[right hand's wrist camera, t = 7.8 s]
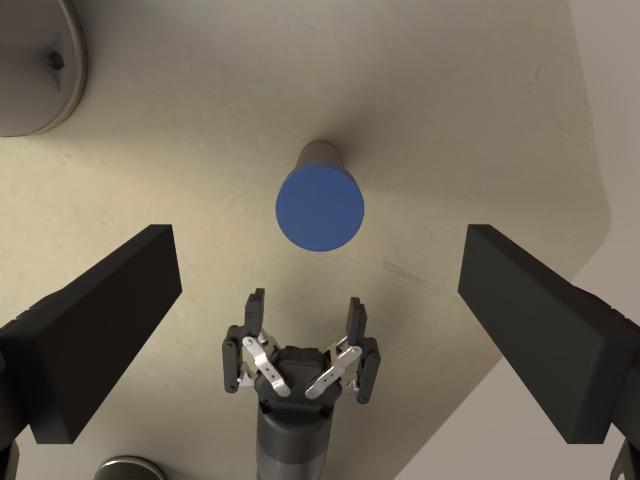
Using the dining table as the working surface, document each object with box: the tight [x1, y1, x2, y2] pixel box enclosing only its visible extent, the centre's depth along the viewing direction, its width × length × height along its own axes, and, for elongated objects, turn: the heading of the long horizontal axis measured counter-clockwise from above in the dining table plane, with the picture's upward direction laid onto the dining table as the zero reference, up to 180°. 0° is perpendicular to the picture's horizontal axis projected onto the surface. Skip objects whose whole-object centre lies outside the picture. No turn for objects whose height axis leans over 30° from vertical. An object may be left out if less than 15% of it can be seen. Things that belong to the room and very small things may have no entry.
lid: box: [276, 160, 364, 252], centre depth 20 cm, size 5×5×2 cm
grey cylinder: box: [295, 141, 344, 168], centre depth 27 cm, size 4×4×16 cm
